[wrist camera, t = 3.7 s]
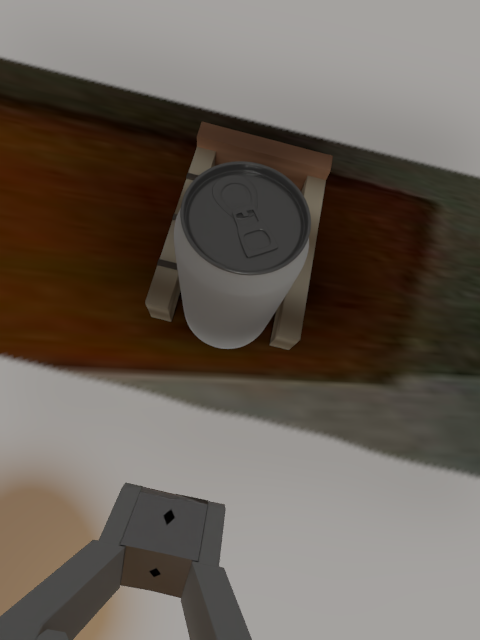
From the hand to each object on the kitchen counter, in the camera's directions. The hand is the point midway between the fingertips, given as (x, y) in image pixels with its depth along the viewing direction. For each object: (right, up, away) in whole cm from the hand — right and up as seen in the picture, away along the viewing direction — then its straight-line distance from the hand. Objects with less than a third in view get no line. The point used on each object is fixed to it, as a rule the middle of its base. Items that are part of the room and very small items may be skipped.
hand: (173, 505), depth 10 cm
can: (+1, +6, +16) cm, 17 cm away
